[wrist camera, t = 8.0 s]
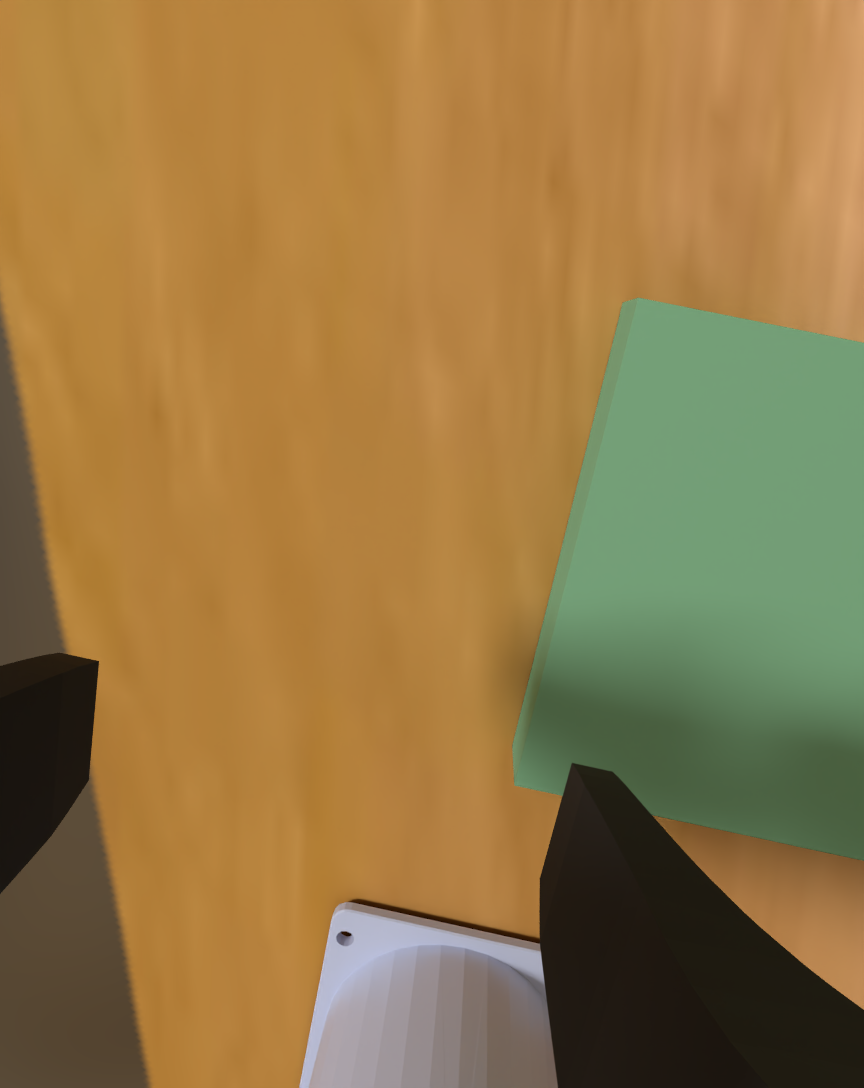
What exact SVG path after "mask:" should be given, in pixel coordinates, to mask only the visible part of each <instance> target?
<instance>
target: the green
mask: <svg viewBox="0 0 864 1088" xmlns="http://www.w3.org/2000/svg"><path fill="white" fill-rule="evenodd" d="M512 748H513V767H514V785H515V786H520V787H524V788H529V789H534V790H538V791H543V792H548V793H552V794H557V795H562V796H563V793H564V789H565V786H566V782H567V778H568V775H569V771H570V767H571V764H572V763H575V764H580V765H584V766H589V767H594V768H598V769H603V770H608V771H612V772H614V773H615V774H616V775H617V776H618V777H619V778H620V779H621V780H622V782H623V783H624V784H625V785H626V786H627V787H628V788H629V789H630V790H631V792H632V793H633V794H634V795H635V796H636V797H637V799H638V800H639V801H640V802H641V803H642V804H643V805H644V807H645V808H646V809H647V810H648V811H649V812H650V814H651V815H654V816H659V817H663V818H668V819H673V820H677V821H682V822H687V823H691V824H696V825H701V826H705V827H710V828H714V829H719V830H724V831H728V832H733V833H738V834H742V835H747V836H751V837H756V838H761V839H765V840H770V841H775V842H779V843H784V844H789V845H793V846H798V847H802V848H807V849H812V850H816V851H821V852H826V853H830V854H835V855H839V856H844V857H849V858H853V859H858V860H863V861H864V343H862V342H857V341H852V340H847V339H842V338H837V337H832V336H827V335H822V334H817V333H812V332H807V331H802V330H797V329H792V328H787V327H782V326H777V325H772V324H767V323H762V322H757V321H752V320H747V319H742V318H737V317H732V316H727V315H722V314H717V313H712V312H707V311H702V310H697V309H692V308H687V307H682V306H677V305H672V304H667V303H662V302H657V301H652V300H647V299H642V298H636V299H633V300H630V301H627V302H623V304H622V308H621V312H620V316H619V320H618V324H617V328H616V332H615V336H614V340H613V344H612V348H611V352H610V356H609V360H608V364H607V368H606V372H605V376H604V380H603V384H602V388H601V392H600V396H599V400H598V404H597V408H596V412H595V416H594V420H593V424H592V428H591V432H590V436H589V440H588V444H587V448H586V452H585V456H584V460H583V464H582V468H581V472H580V476H579V480H578V484H577V488H576V492H575V496H574V500H573V504H572V508H571V513H570V517H569V521H568V525H567V529H566V533H565V537H564V541H563V545H562V549H561V553H560V557H559V561H558V565H557V569H556V573H555V577H554V581H553V585H552V589H551V593H550V597H549V601H548V605H547V609H546V613H545V617H544V621H543V625H542V629H541V633H540V637H539V641H538V645H537V649H536V653H535V657H534V661H533V665H532V669H531V673H530V677H529V681H528V685H527V689H526V693H525V697H524V701H523V705H522V709H521V713H520V717H519V721H518V725H517V729H516V733H515V737H514V741H513V745H512Z"/></svg>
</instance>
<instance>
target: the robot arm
mask: <svg viewBox="0 0 864 1088" xmlns="http://www.w3.org/2000/svg"><path fill="white" fill-rule="evenodd" d="M98 666H99V661H96V660H91V659H86V658H82V657H77V656H72V655H68V654H63V653H55V654H49V655H43V656H39V657H34V658H30V659H26V660H22V661H18V662H14V663H10V664H6V665H3V666H0V893H1V892H2V891H3V890H4V889H5V888H6V887H7V886H8V884H9V883H10V882H11V881H12V880H13V879H14V878H15V877H16V875H17V874H18V873H19V872H20V871H21V870H22V869H23V868H24V866H25V865H26V864H27V863H28V862H29V861H30V860H31V859H32V857H33V856H34V855H35V854H36V853H37V852H38V851H39V849H40V848H41V847H42V846H43V845H44V844H45V842H46V841H47V840H48V839H49V838H50V837H51V835H52V834H53V832H54V831H55V830H56V828H57V827H58V825H59V824H60V823H61V821H62V820H63V818H64V817H65V815H66V814H67V813H68V811H69V809H70V808H71V807H72V805H73V803H74V802H75V800H76V799H77V797H78V796H79V794H80V793H81V791H82V789H83V788H84V787H85V785H86V784H87V782H88V780H89V770H90V758H91V747H92V735H93V724H94V712H95V701H96V689H97V678H98ZM341 931H347V932H349V933H351V934H352V936H345V935H343V934H341ZM299 1088H864V1010H863V1009H862V1008H860V1007H859V1006H858V1005H856V1004H855V1003H854V1002H852V1001H851V1000H849V999H848V998H847V997H845V996H844V995H843V994H841V993H840V992H839V991H837V990H836V989H834V988H833V987H832V986H830V985H829V984H828V983H827V982H825V981H824V980H823V979H821V978H820V977H819V976H818V975H816V974H815V973H814V972H813V971H811V970H810V969H809V968H807V967H806V966H805V965H804V964H803V963H801V962H800V961H799V960H798V959H797V958H795V957H794V956H793V955H792V954H791V953H790V952H788V951H787V950H786V949H785V948H784V947H783V946H781V945H780V944H779V943H778V942H777V941H776V940H774V939H773V938H772V937H771V936H770V935H769V934H767V933H766V932H765V931H764V930H763V929H761V928H760V927H759V926H758V925H757V924H756V923H755V922H754V921H753V920H752V919H751V918H749V917H748V916H747V915H746V914H745V913H744V912H743V911H742V910H741V909H740V908H739V907H738V906H737V905H736V904H735V903H734V902H733V901H732V900H731V899H730V898H729V897H728V896H727V895H726V894H725V893H724V892H723V891H722V890H721V889H720V888H719V887H718V886H717V885H716V884H715V883H714V882H713V881H712V880H710V879H709V877H708V876H707V875H706V874H705V873H704V872H703V871H702V870H701V869H700V868H699V867H698V866H697V865H696V864H695V863H694V862H693V861H692V860H691V858H690V857H689V856H688V855H687V854H686V853H685V852H684V851H683V850H682V849H681V848H680V846H679V845H678V844H677V843H676V842H675V841H674V840H673V839H672V838H671V836H670V835H669V834H668V833H667V832H666V831H665V830H664V829H663V827H662V826H661V825H660V824H659V823H658V822H657V821H656V819H655V818H654V817H653V816H652V815H651V814H650V812H649V811H648V810H647V809H646V808H645V807H644V805H643V804H642V803H641V802H640V801H639V800H638V799H637V797H636V796H635V795H634V794H633V793H632V792H631V790H630V789H629V788H628V787H627V786H626V785H625V784H624V783H623V782H622V780H621V779H620V778H619V777H618V776H617V775H616V774H615V773H614V772H612V771H608V770H603V769H598V768H594V767H589V766H584V765H580V764H575V763H572V764H571V767H570V771H569V775H568V778H567V782H566V786H565V789H564V793H563V797H562V800H561V804H560V808H559V811H558V815H557V819H556V822H555V826H554V830H553V833H552V837H551V840H550V844H549V848H548V851H547V855H546V859H545V862H544V866H543V870H542V873H541V877H540V944H538V943H534V942H529V941H525V940H520V939H516V938H511V937H507V936H502V935H498V934H493V933H488V932H484V931H479V930H475V929H470V928H466V927H461V926H457V925H452V924H448V923H443V922H439V921H434V920H430V919H425V918H420V917H416V916H411V915H407V914H402V913H398V912H393V911H389V910H384V909H380V908H375V907H371V906H366V905H361V904H357V903H352V902H345V903H342V904H340V905H339V906H337V907H336V908H335V911H334V913H333V917H332V920H331V925H330V931H329V936H328V941H327V946H326V951H325V957H324V962H323V967H322V972H321V977H320V982H319V988H318V993H317V998H316V1003H315V1008H314V1014H313V1019H312V1024H311V1029H310V1034H309V1040H308V1045H307V1050H306V1055H305V1060H304V1066H303V1071H302V1076H301V1081H300V1086H299Z"/></svg>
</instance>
